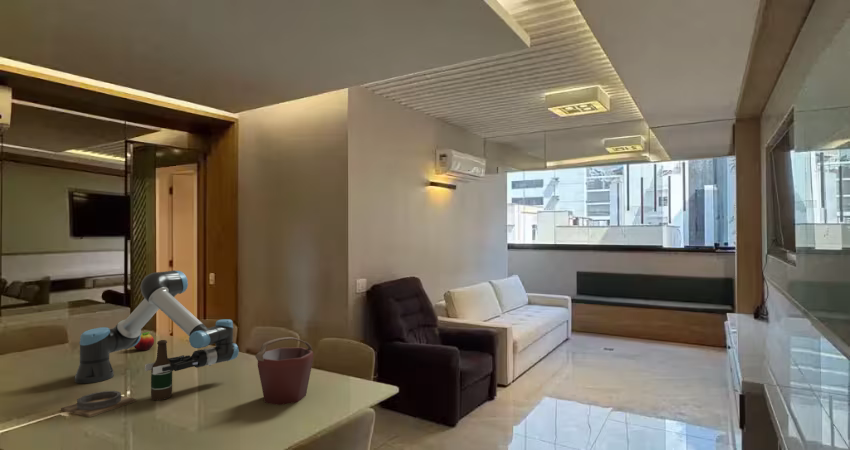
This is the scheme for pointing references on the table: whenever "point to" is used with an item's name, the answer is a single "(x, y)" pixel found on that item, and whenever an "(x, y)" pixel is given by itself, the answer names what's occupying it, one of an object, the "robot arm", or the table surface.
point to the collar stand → (98, 403)
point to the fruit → (144, 342)
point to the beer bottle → (161, 375)
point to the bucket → (284, 372)
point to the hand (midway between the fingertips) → (149, 369)
